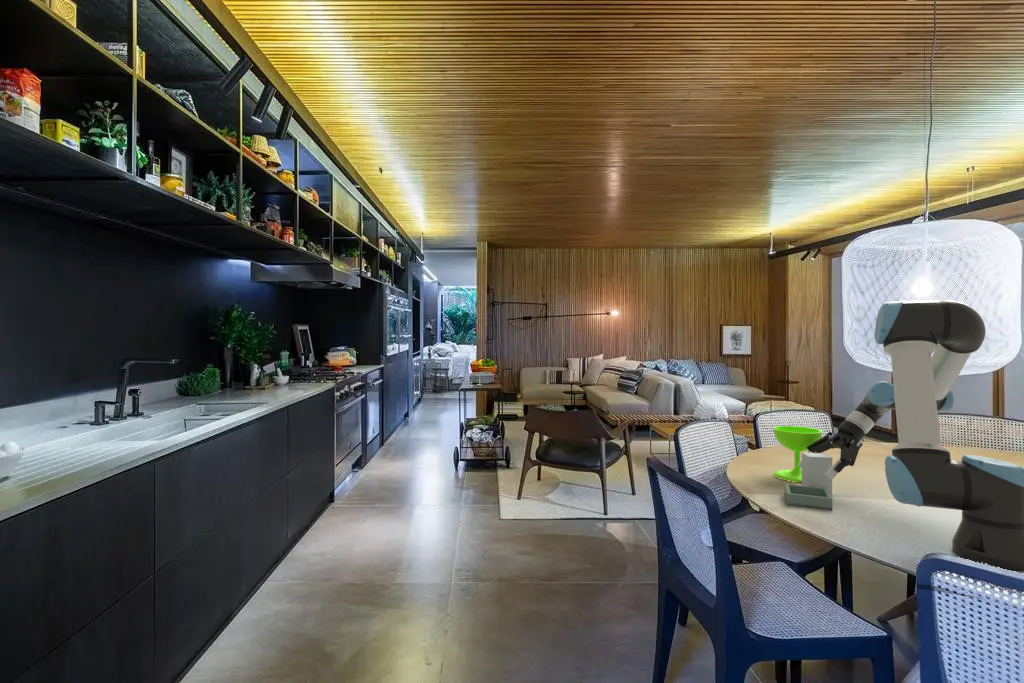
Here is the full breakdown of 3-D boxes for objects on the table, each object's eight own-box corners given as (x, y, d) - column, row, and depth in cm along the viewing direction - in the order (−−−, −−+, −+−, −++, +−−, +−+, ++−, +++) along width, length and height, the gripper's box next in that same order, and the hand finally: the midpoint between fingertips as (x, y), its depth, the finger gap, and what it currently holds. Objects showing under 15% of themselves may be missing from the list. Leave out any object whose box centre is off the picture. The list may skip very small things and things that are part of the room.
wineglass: (829, 478, 196) (829, 430, 196) (811, 486, 186) (811, 435, 185) (784, 470, 208) (784, 424, 208) (765, 476, 198) (765, 428, 198)
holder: (832, 510, 160) (832, 498, 160) (787, 505, 164) (787, 493, 164) (826, 499, 171) (826, 488, 171) (784, 494, 175) (785, 484, 175)
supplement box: (832, 495, 174) (833, 457, 174) (808, 494, 176) (808, 456, 176) (824, 489, 182) (824, 452, 181) (800, 488, 183) (801, 451, 183)
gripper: (892, 442, 168) (848, 490, 167) (836, 428, 193) (797, 470, 192) (876, 425, 168) (832, 474, 166) (822, 414, 192) (783, 456, 191)
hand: (813, 472), depth 179 cm, fingers open, 13 cm apart
